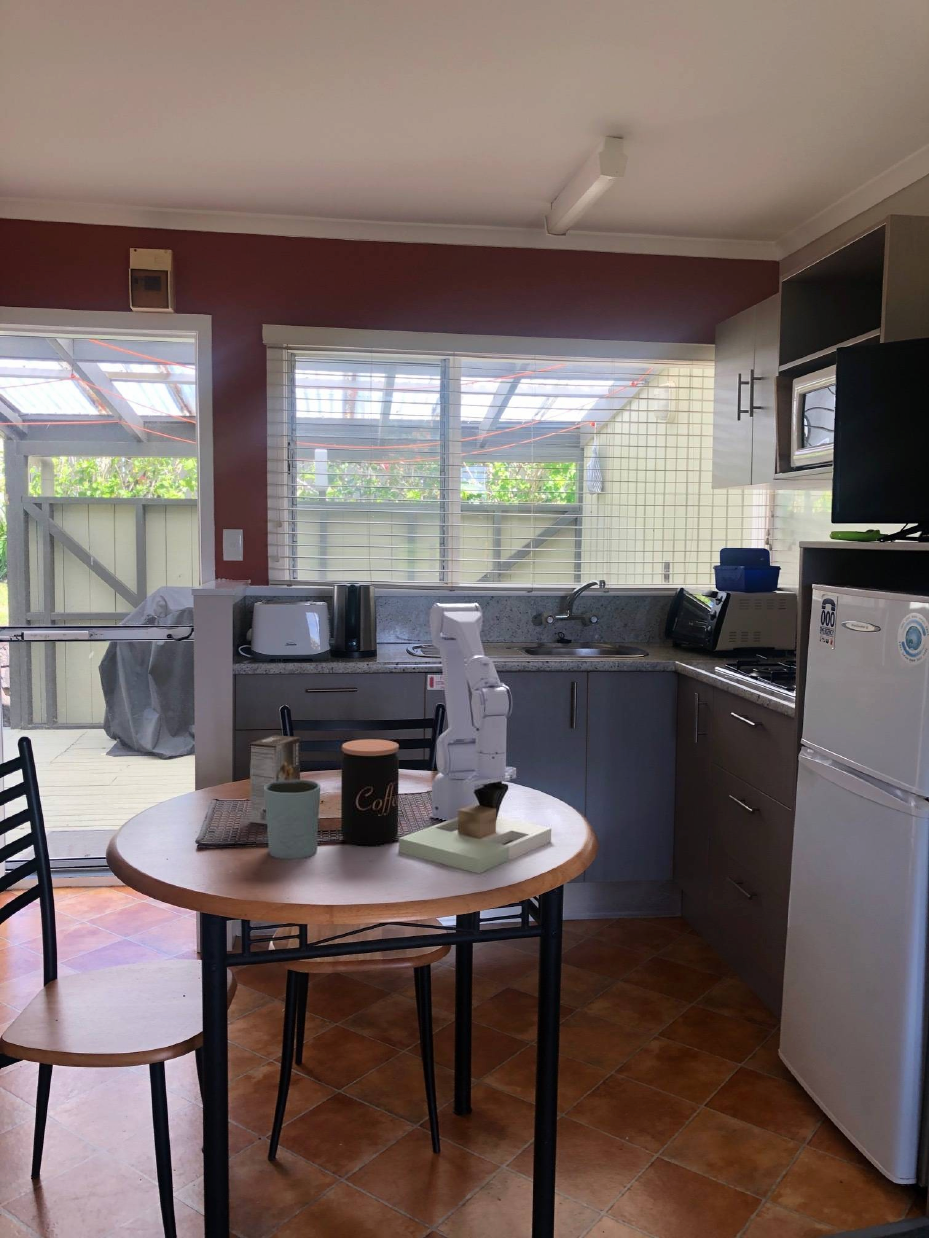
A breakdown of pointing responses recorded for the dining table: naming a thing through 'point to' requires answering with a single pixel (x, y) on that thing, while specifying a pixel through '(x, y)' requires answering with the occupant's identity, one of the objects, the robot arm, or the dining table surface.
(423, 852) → the pale green slotted tray
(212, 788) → the dining table surface
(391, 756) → the coffee jar
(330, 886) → the dining table surface
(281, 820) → the pale green cup
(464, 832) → the block
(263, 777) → the coffee box
